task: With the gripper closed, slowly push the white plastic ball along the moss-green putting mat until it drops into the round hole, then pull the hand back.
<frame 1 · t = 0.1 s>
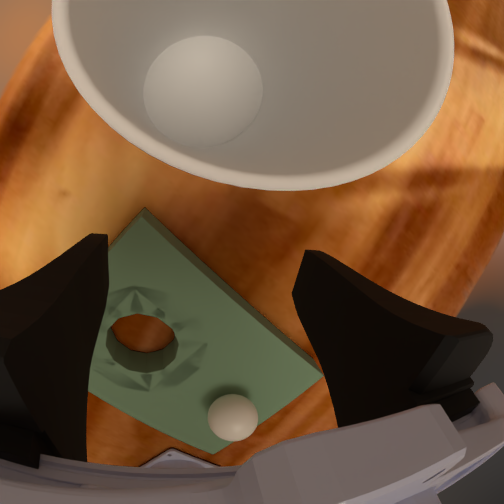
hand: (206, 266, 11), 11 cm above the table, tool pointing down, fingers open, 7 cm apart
cup: (202, 90, 18), on the table
ball: (232, 417, 23), point 4 cm above the table, touching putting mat
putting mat: (181, 353, 25), on the table
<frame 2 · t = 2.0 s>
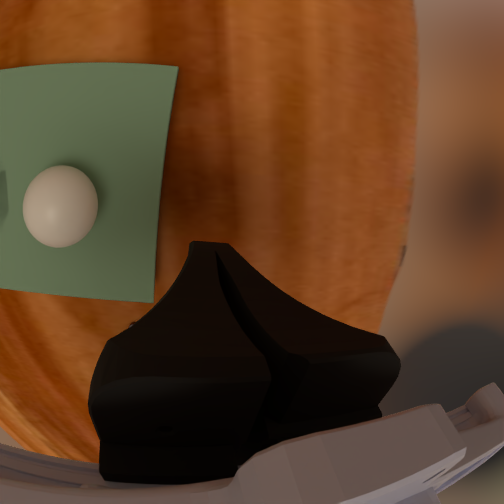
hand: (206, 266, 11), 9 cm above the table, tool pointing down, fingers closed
ball: (59, 206, 13), point 4 cm above the table, touching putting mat
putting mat: (17, 177, 16), on the table
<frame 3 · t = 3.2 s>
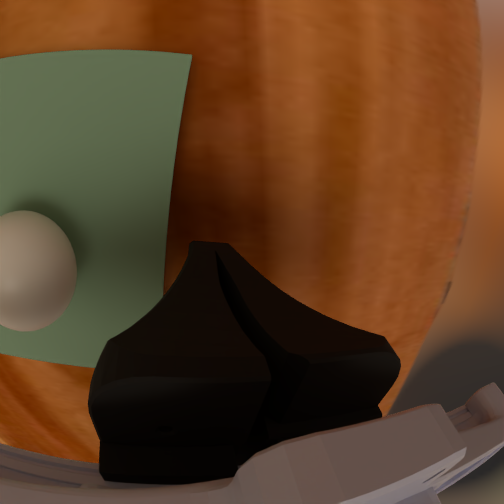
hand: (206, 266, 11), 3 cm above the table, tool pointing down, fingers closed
ball: (23, 271, 8), point 4 cm above the table, touching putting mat
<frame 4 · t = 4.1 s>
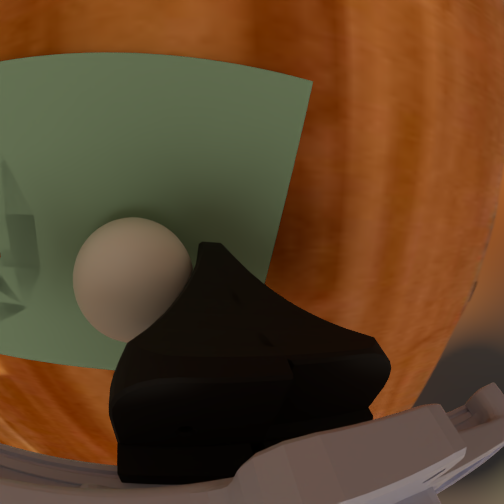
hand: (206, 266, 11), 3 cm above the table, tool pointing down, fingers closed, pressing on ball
ball: (133, 280, 10), point 4 cm above the table, touching gripper, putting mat
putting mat: (45, 217, 12), on the table
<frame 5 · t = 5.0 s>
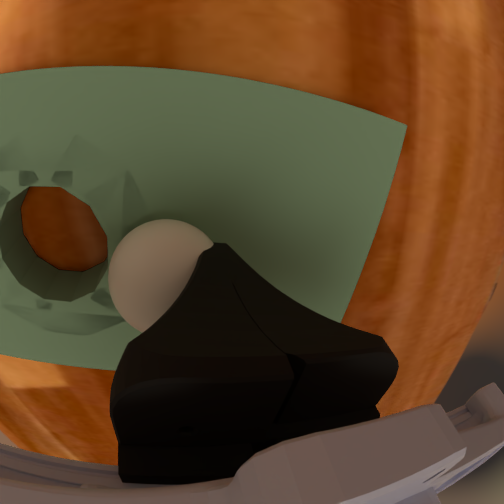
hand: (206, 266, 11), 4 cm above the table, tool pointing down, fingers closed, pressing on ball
ball: (166, 278, 10), point 4 cm above the table, tilted 116°, touching gripper, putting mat
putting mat: (146, 228, 14), on the table
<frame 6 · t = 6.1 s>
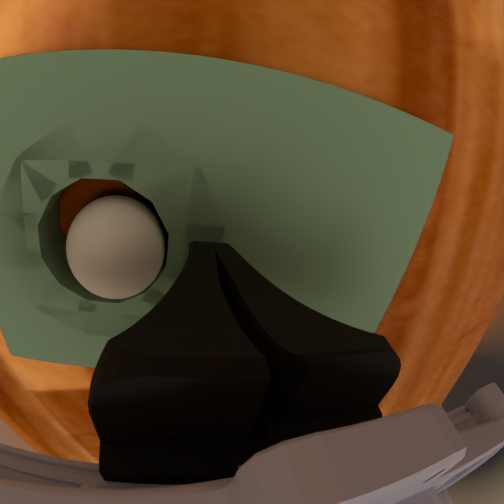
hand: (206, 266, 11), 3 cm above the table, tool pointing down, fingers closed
ball: (115, 247, 11), point 2 cm above the table, tilted 131°
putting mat: (200, 226, 14), on the table
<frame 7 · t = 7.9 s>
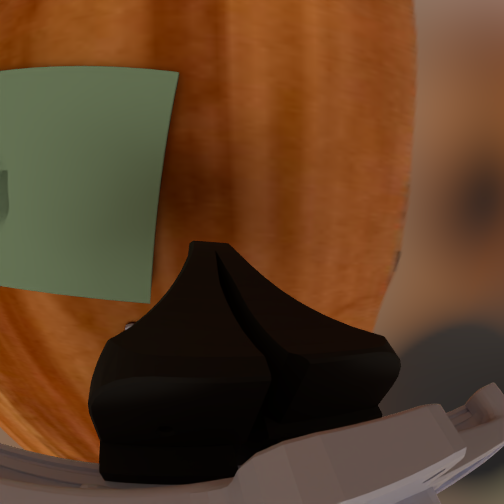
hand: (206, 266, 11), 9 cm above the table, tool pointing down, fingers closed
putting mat: (17, 177, 16), on the table
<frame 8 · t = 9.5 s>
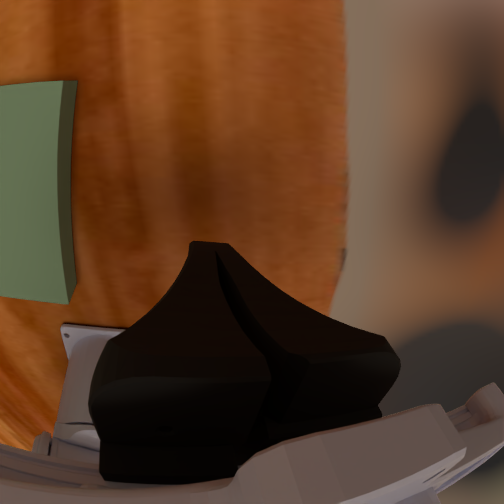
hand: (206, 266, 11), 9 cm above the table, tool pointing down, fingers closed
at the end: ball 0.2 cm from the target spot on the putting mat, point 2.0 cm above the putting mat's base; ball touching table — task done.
